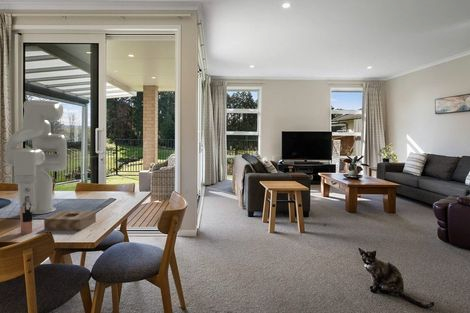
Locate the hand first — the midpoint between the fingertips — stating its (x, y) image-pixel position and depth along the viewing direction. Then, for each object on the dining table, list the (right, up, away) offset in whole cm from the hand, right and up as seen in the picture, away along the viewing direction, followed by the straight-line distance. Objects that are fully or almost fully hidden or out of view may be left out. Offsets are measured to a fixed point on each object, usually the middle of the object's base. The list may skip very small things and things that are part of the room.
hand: (26, 219), depth 124 cm
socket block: (+13, -5, +11) cm, 18 cm away
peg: (0, -6, 0) cm, 6 cm away
